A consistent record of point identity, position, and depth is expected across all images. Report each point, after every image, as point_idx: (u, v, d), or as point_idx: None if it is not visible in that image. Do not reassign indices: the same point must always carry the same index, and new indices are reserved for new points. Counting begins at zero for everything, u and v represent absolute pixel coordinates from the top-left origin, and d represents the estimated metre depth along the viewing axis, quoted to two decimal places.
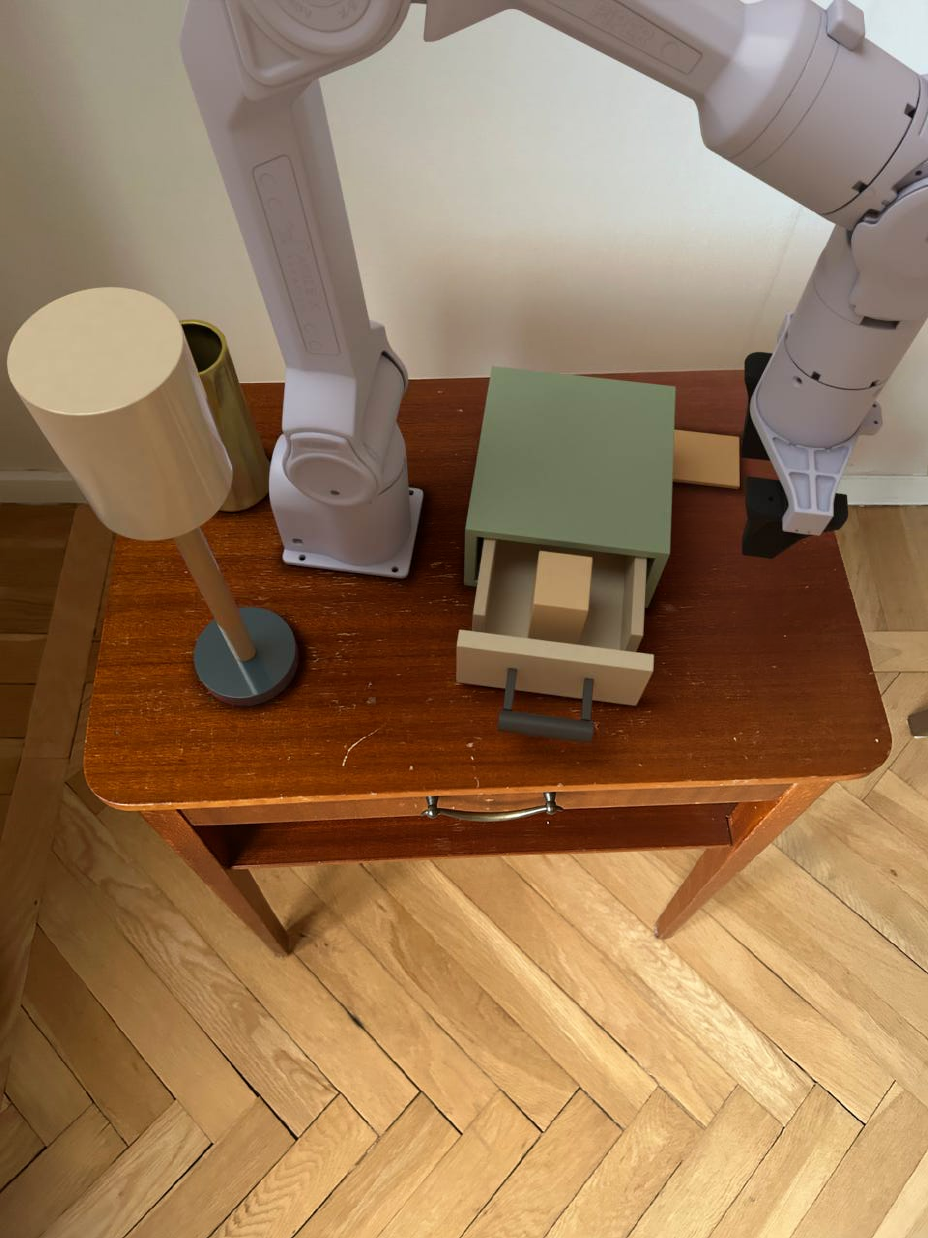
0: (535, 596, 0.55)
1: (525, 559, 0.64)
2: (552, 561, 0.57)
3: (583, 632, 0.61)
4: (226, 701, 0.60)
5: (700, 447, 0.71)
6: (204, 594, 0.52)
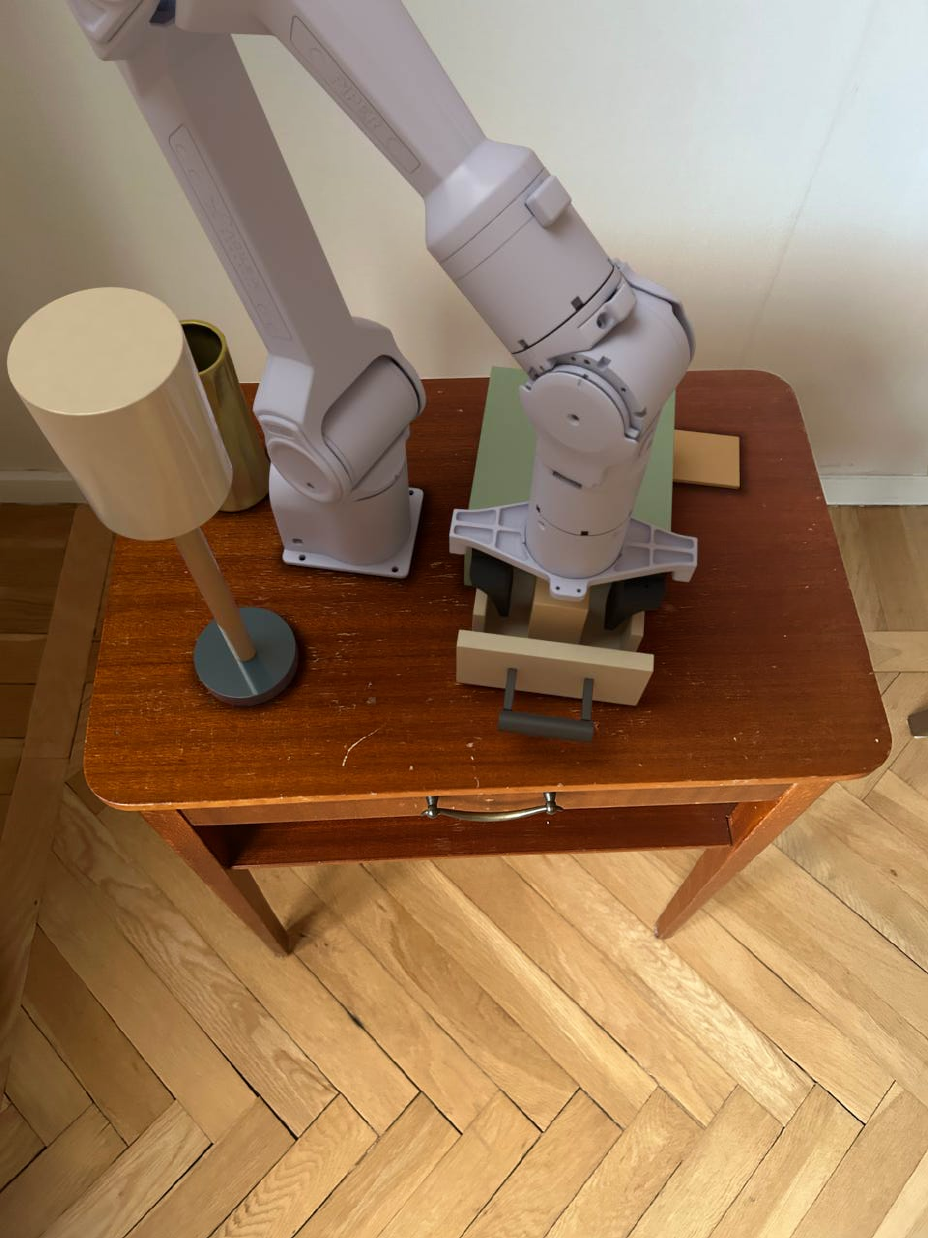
0: (535, 596, 0.55)
1: None
2: None
3: (583, 632, 0.61)
4: (226, 701, 0.60)
5: (700, 447, 0.71)
6: (204, 594, 0.52)
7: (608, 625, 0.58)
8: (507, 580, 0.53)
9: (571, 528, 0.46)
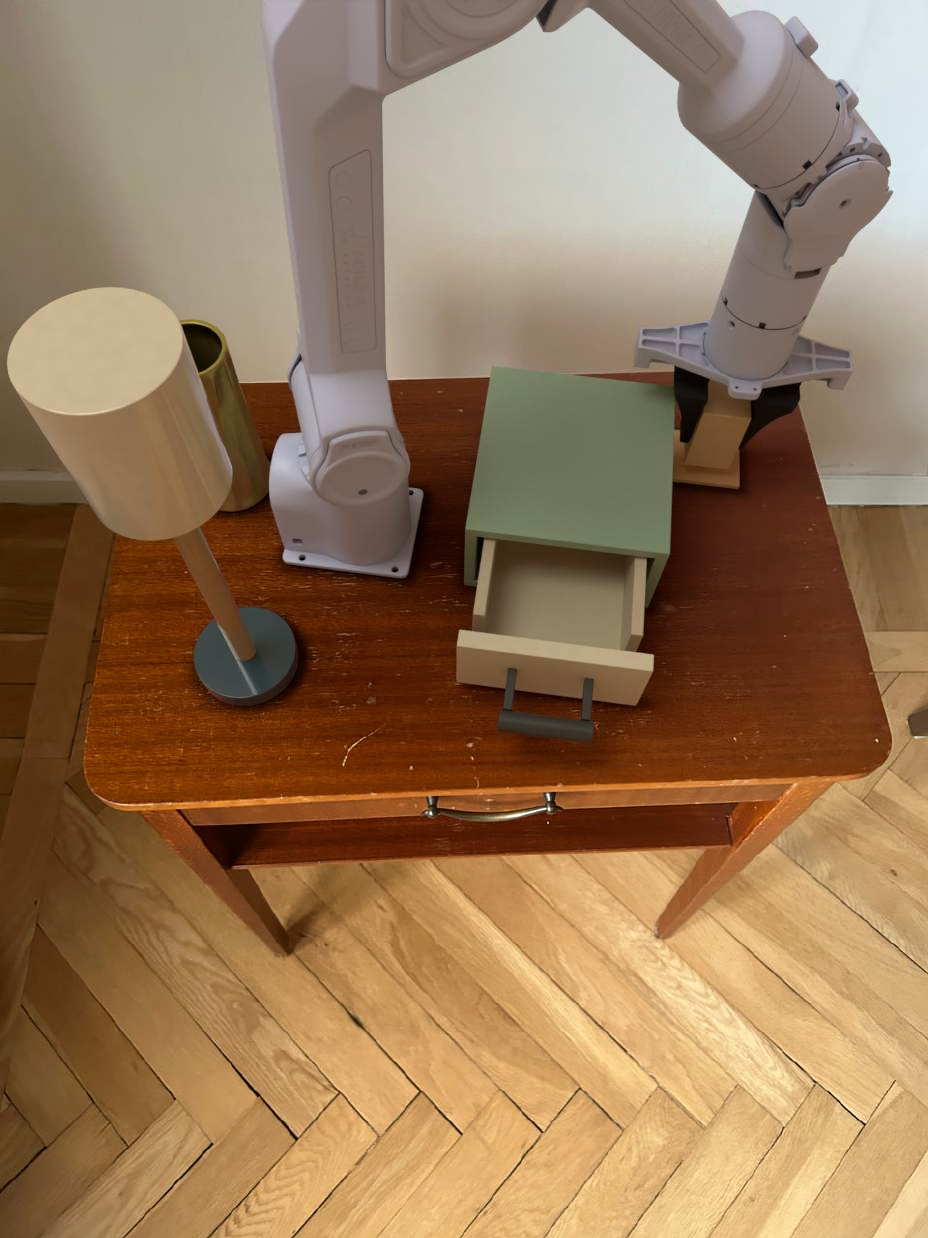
0: (704, 407, 0.63)
1: (525, 559, 0.64)
2: None
3: (583, 632, 0.61)
4: (226, 701, 0.60)
5: None
6: (204, 594, 0.52)
7: None
8: (707, 393, 0.61)
9: (797, 319, 0.54)
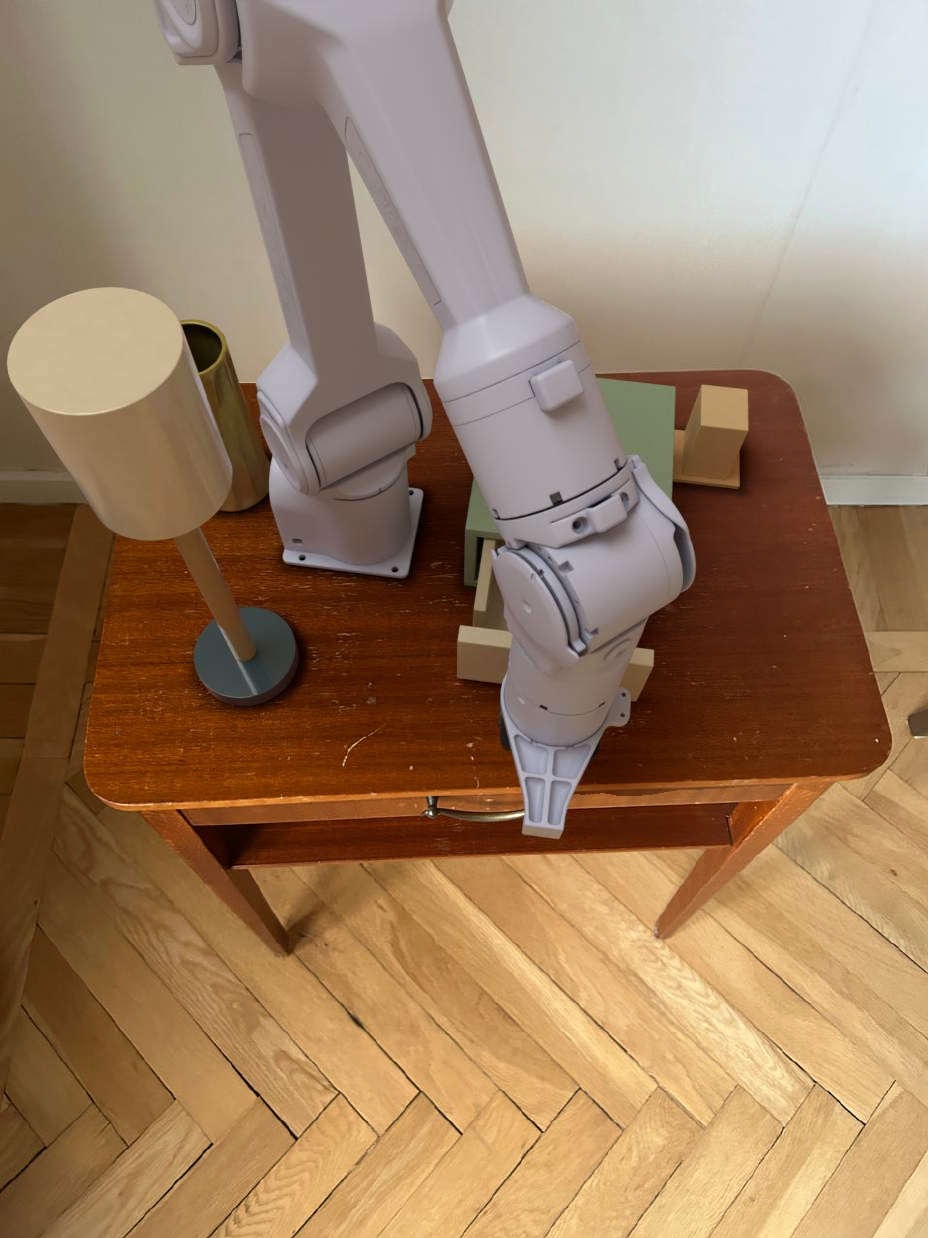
0: (702, 419, 0.64)
1: None
2: (713, 392, 0.65)
3: None
4: (226, 701, 0.60)
5: None
6: (204, 594, 0.52)
7: None
8: None
9: (531, 697, 0.42)
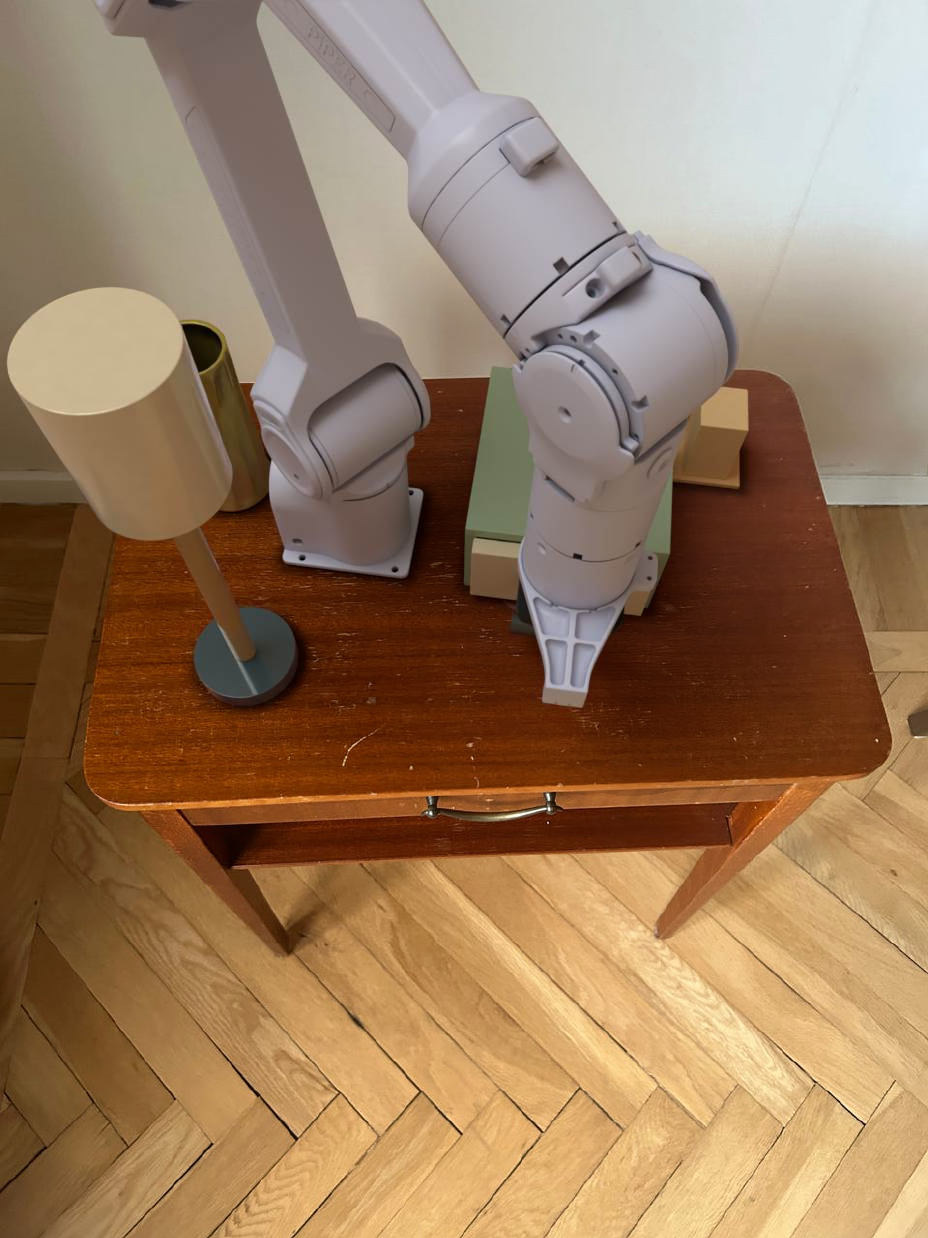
0: (702, 419, 0.64)
1: None
2: None
3: None
4: (226, 701, 0.60)
5: None
6: (204, 594, 0.52)
7: None
8: None
9: (563, 547, 0.39)
